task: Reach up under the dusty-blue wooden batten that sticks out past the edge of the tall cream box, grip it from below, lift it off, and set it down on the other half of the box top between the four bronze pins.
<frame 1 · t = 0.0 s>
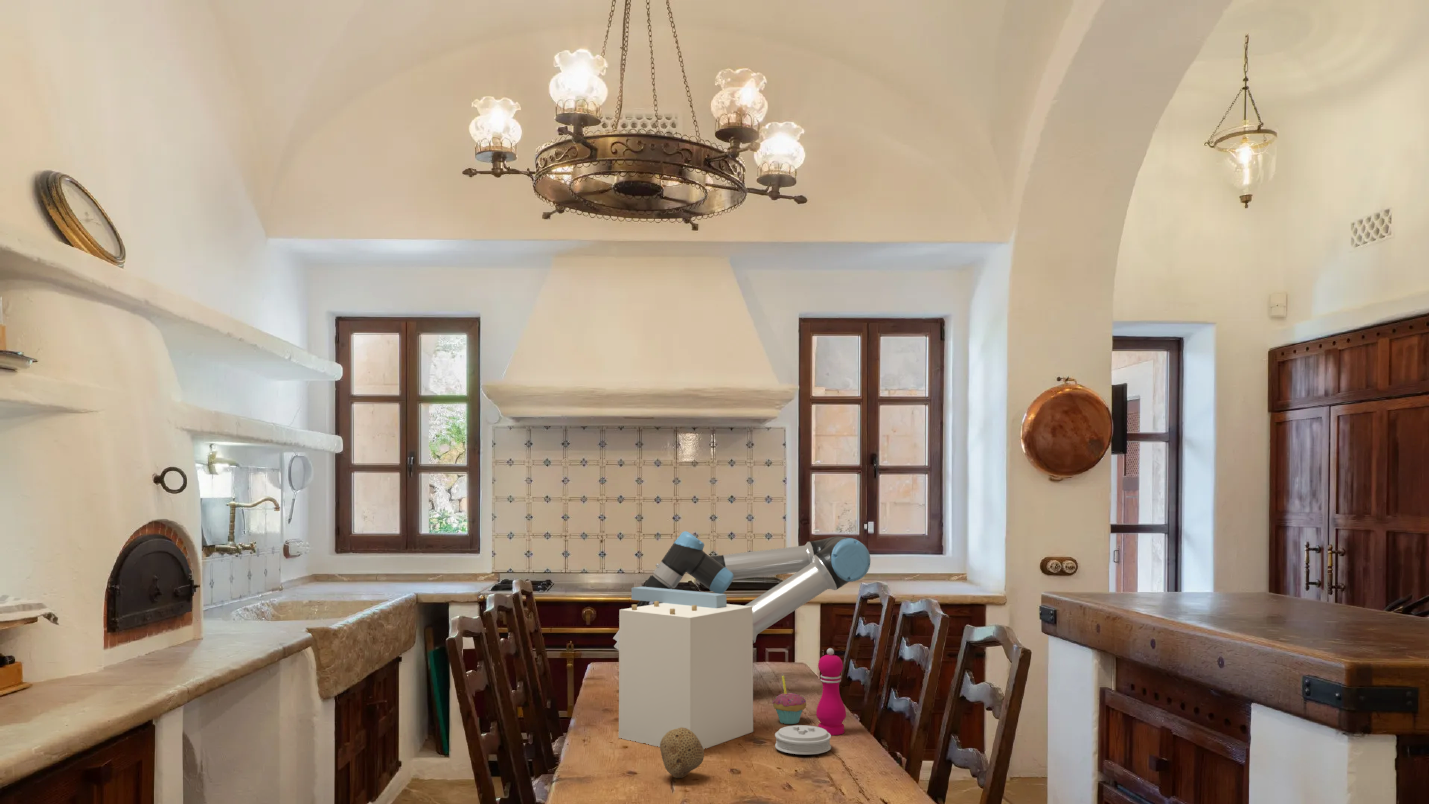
hand: (617, 645, 267), 15 cm above the table, tool tilted 35°, fingers open, 13 cm apart
cupcake: (789, 722, 244), on the table
batten: (677, 603, 244), point 30 cm above the table, touching plinth
natural sponge: (682, 778, 199), on the table
plinth: (686, 734, 232), on the table
lid: (803, 751, 219), on the table
pepper mill: (831, 733, 234), on the table
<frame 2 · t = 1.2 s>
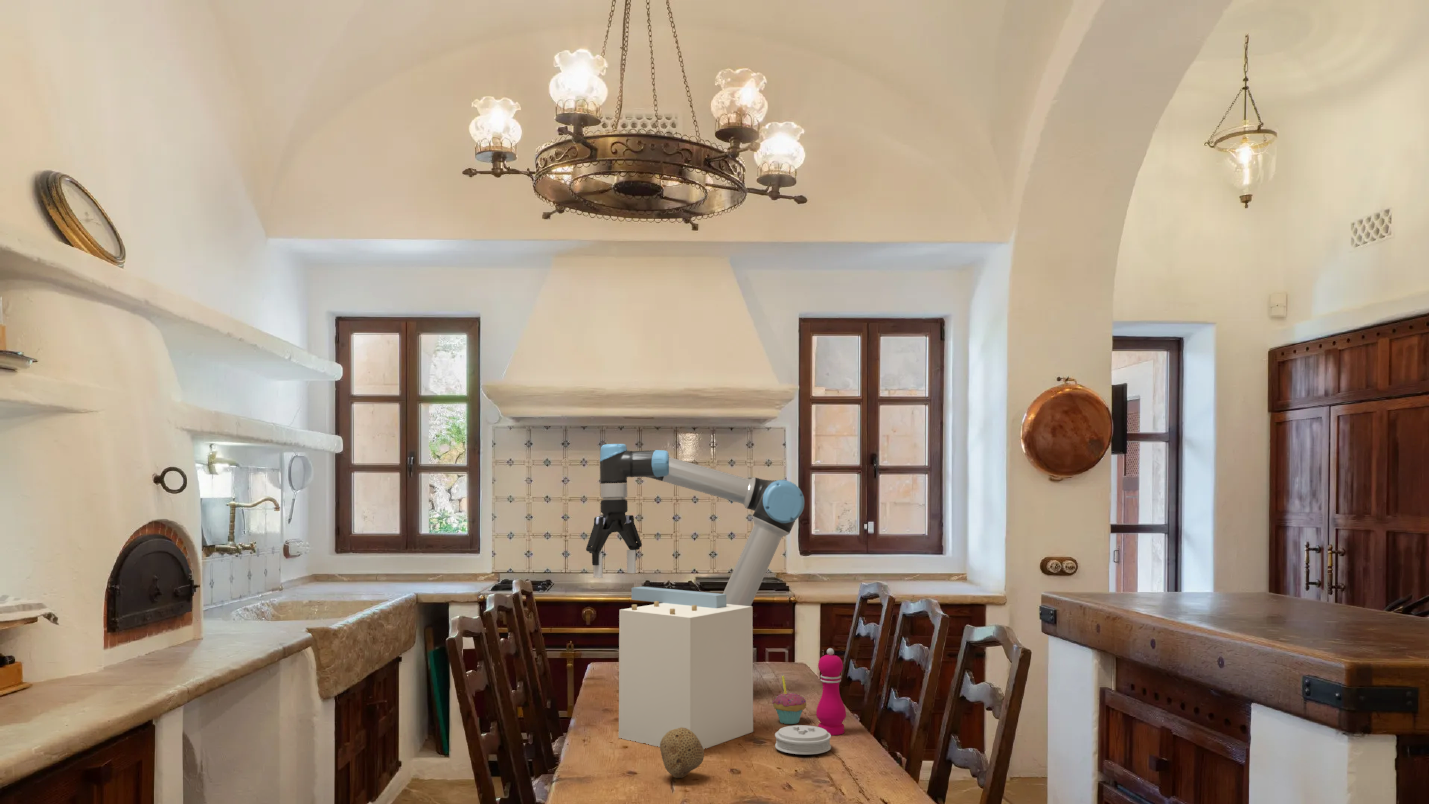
hand: (615, 575, 270), 34 cm above the table, tool pointing down, fingers open, 13 cm apart
nothing on the table moved.
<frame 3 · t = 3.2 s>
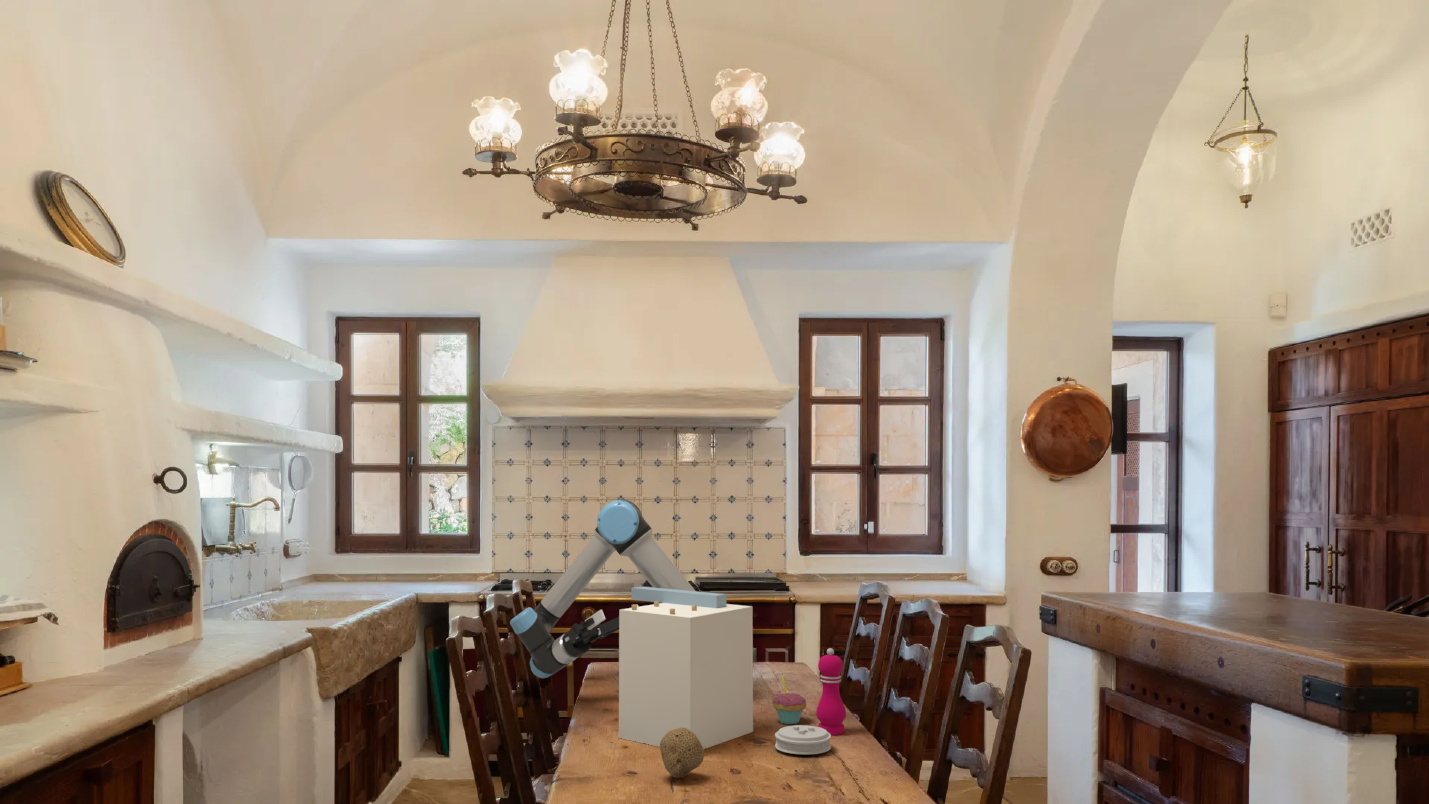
hand: (621, 611, 255), 26 cm above the table, tool pointing upward, fingers open, 13 cm apart
nothing on the table moved.
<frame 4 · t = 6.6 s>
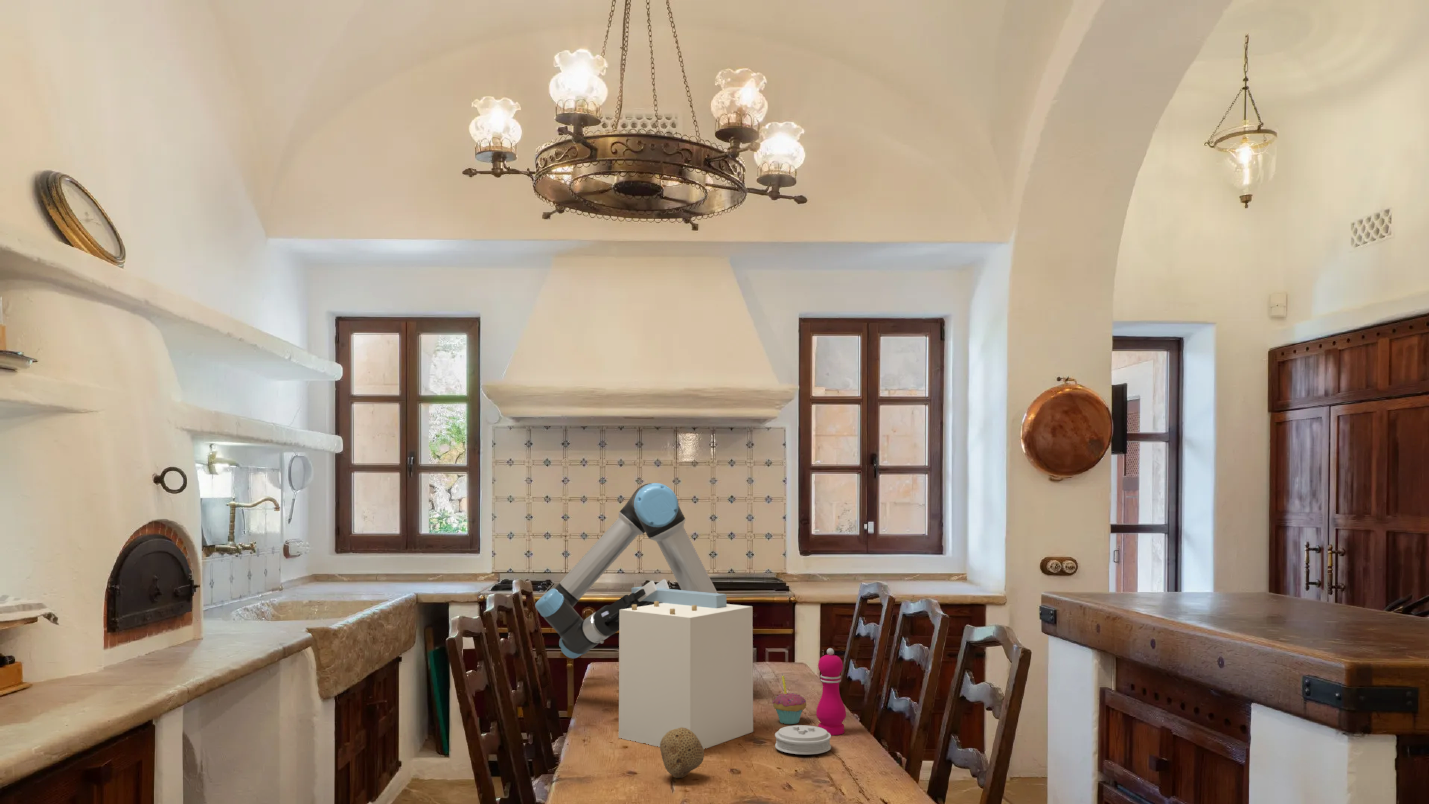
hand: (660, 584, 248), 34 cm above the table, tool pointing upward, fingers closed on batten, 4 cm apart
batten: (677, 603, 244), point 30 cm above the table, touching gripper, plinth
everything else where it was.
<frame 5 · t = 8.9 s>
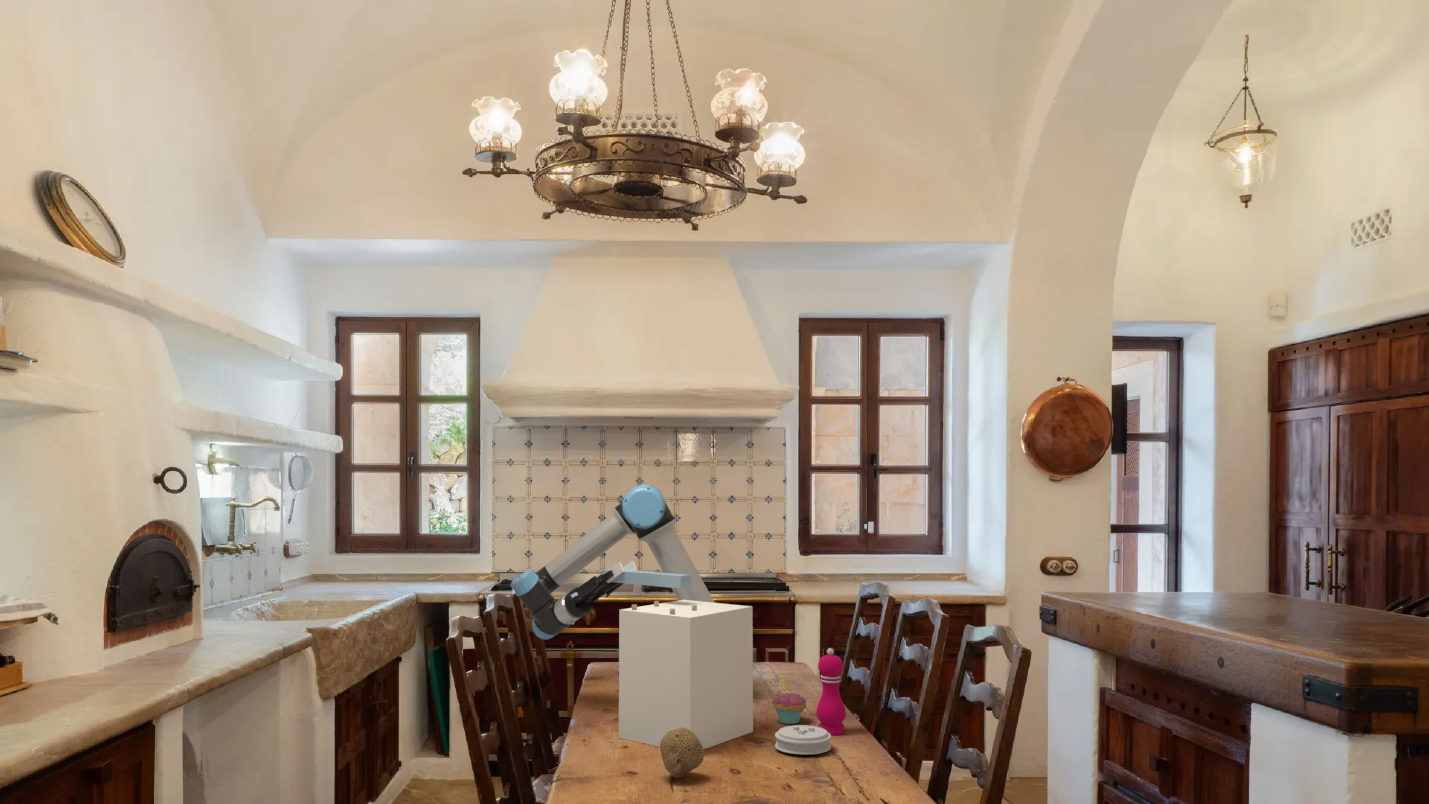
hand: (628, 566, 253), 38 cm above the table, tool pointing upward, fingers closed on batten, 4 cm apart
batten: (644, 584, 249), point 34 cm above the table, touching gripper
everything else where it was.
when the fingers open (36 cm above the table, at t = 11.4 s): batten drops 2 cm, resting on plinth.
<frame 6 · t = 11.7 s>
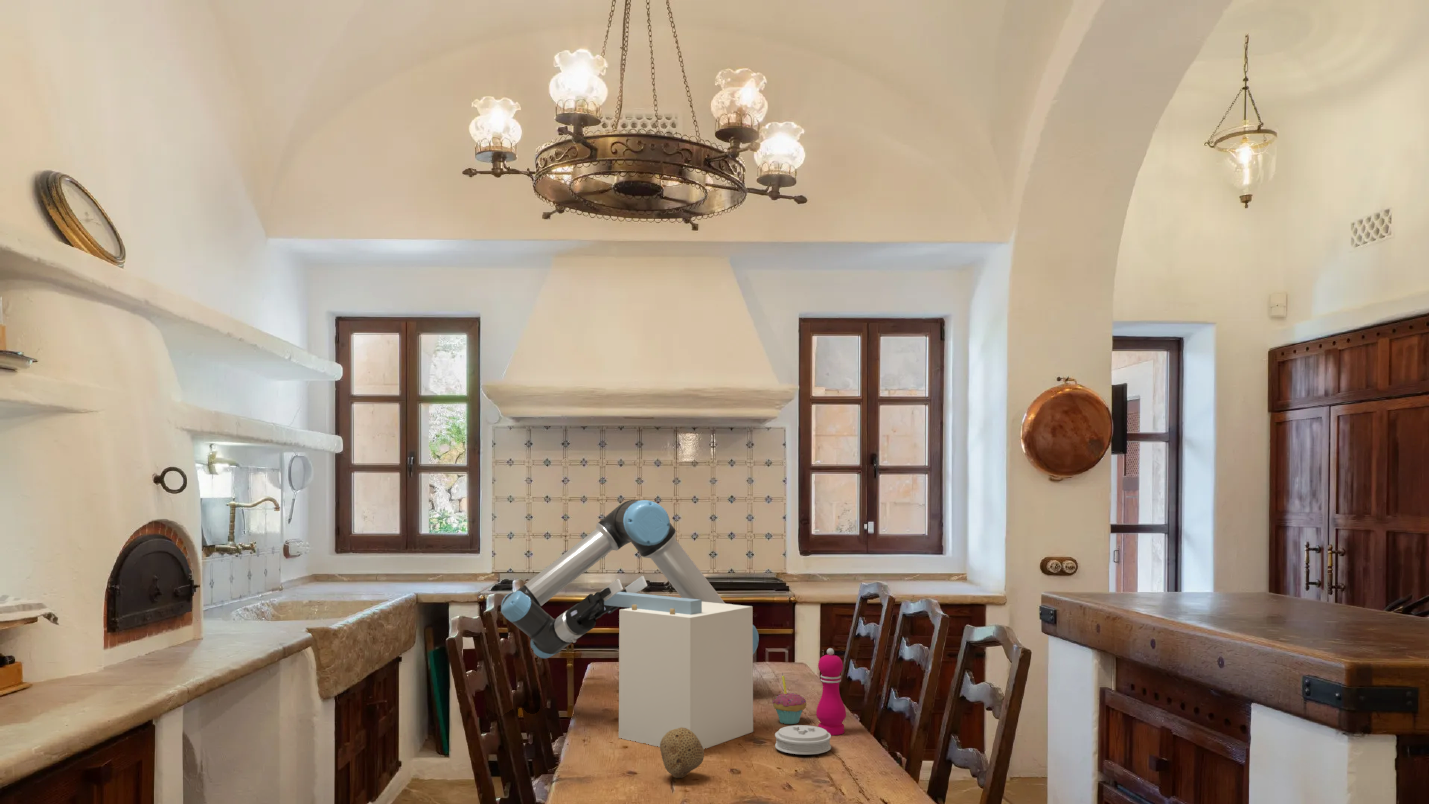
hand: (632, 582, 237), 36 cm above the table, tool pointing upward, fingers open, 8 cm apart
batten: (651, 608, 233), point 30 cm above the table, touching plinth
everything else where it was.
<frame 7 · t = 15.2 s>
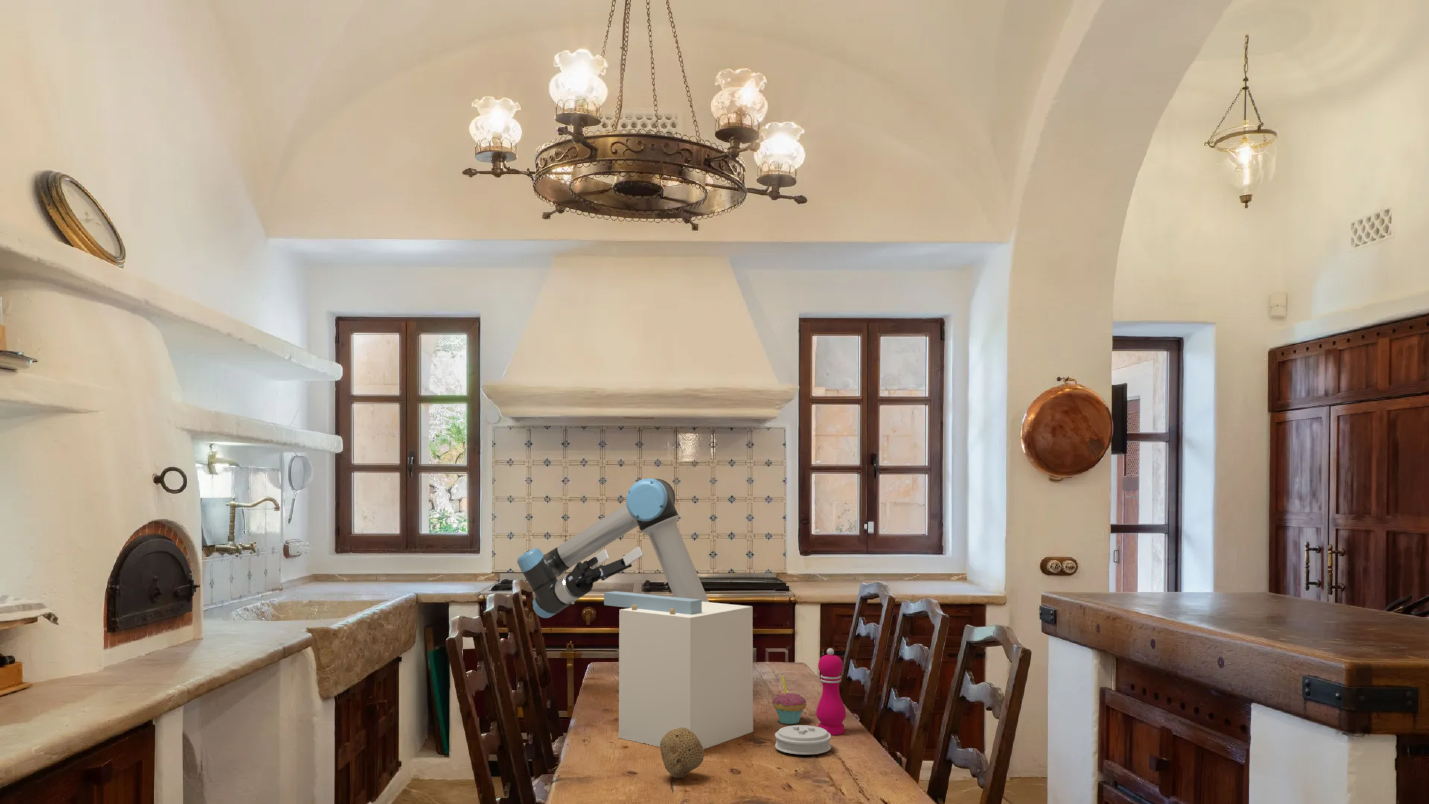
hand: (623, 552, 263), 41 cm above the table, tool pointing upward, fingers open, 13 cm apart
nothing on the table moved.
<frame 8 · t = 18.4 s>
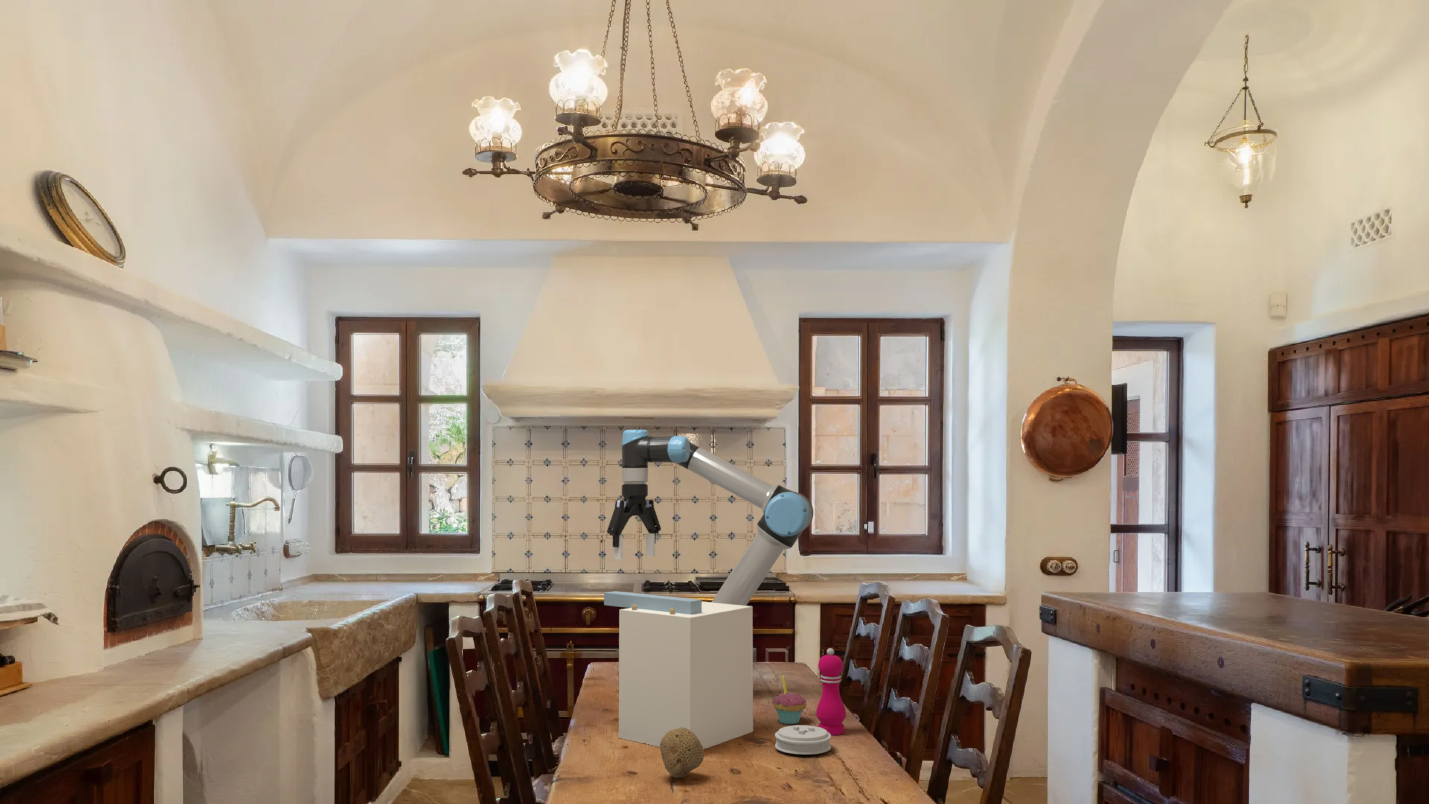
hand: (634, 557, 277), 39 cm above the table, tool pointing down, fingers open, 13 cm apart
nothing on the table moved.
at the end: batten inside the target area (0.1 cm from its centre), point 30.0 cm above the table; batten touching plinth; the gripper is holding nothing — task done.
